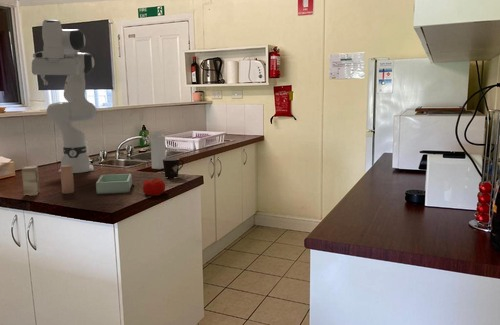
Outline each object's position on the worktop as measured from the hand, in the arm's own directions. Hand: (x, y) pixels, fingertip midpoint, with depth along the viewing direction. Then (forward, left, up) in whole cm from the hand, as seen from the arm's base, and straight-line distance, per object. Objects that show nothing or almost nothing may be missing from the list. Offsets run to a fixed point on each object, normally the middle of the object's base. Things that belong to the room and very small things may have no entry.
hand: (56, 84), depth 197 cm
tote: (+18, +26, -48) cm, 58 cm away
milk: (-31, +46, -48) cm, 73 cm away
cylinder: (+21, +6, -48) cm, 53 cm away
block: (+21, -9, -48) cm, 53 cm away
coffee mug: (-1, +54, -48) cm, 72 cm away
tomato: (+33, +44, -48) cm, 73 cm away
